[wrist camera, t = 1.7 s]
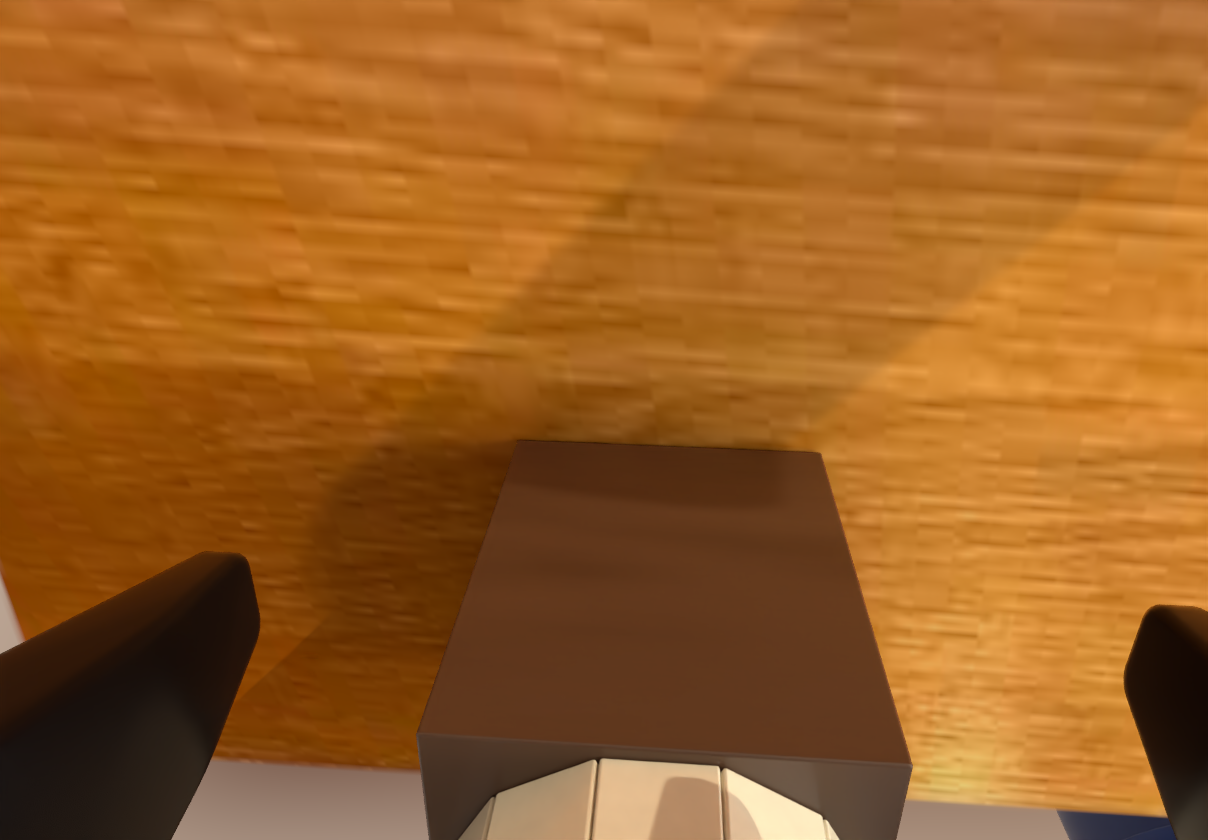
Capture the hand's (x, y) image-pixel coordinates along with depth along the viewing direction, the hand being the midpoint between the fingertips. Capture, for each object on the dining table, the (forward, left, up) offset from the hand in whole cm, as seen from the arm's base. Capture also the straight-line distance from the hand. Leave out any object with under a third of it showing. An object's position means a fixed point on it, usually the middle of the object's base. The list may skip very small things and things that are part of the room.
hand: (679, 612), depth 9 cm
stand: (-7, 0, -11) cm, 13 cm away
